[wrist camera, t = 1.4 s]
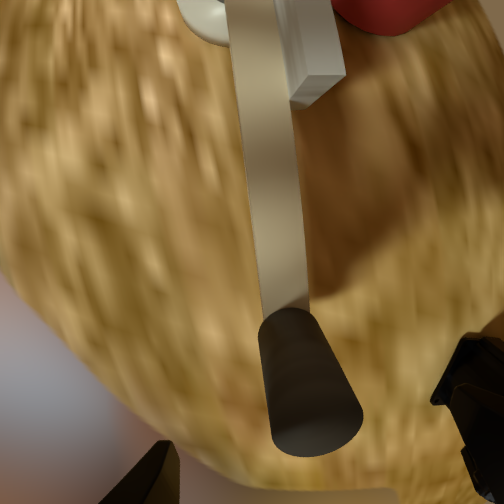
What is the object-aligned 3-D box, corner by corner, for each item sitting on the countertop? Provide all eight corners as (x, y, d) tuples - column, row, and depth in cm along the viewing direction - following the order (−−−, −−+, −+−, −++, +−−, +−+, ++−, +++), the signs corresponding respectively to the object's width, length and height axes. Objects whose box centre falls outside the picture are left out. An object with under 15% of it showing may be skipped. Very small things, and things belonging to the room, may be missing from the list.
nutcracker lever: (203, -37, 12) (188, -145, 3) (276, -42, 12) (302, -147, 4) (251, 348, 17) (264, 474, 9) (323, 337, 17) (379, 450, 9)
